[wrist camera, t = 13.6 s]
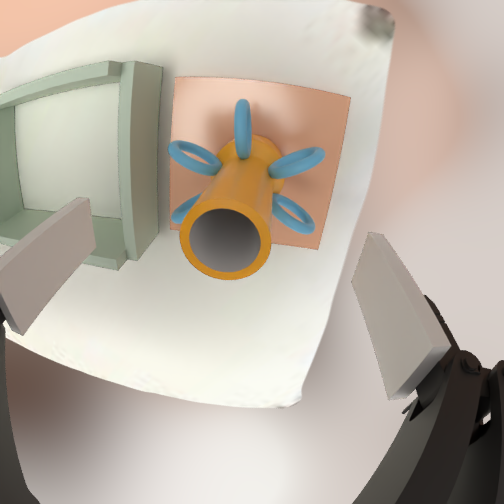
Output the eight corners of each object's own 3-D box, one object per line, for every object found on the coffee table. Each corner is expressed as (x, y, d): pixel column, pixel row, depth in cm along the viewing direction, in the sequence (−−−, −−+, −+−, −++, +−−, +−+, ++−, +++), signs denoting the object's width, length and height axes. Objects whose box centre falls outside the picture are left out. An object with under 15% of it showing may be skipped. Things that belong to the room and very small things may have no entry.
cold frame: (21, 215, 30) (-30, 255, 20) (10, 99, 21) (-54, 118, 11) (158, 233, 30) (109, 300, 20) (163, 67, 21) (90, 53, 10)
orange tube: (337, 155, 23) (406, 223, 11) (276, 237, 28) (275, 356, 15) (223, 85, 21) (154, 64, 8) (171, 178, 26) (85, 258, 13)
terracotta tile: (173, 225, 30) (170, 229, 29) (179, 77, 21) (175, 77, 20) (316, 245, 29) (317, 249, 29) (348, 97, 21) (350, 97, 20)
